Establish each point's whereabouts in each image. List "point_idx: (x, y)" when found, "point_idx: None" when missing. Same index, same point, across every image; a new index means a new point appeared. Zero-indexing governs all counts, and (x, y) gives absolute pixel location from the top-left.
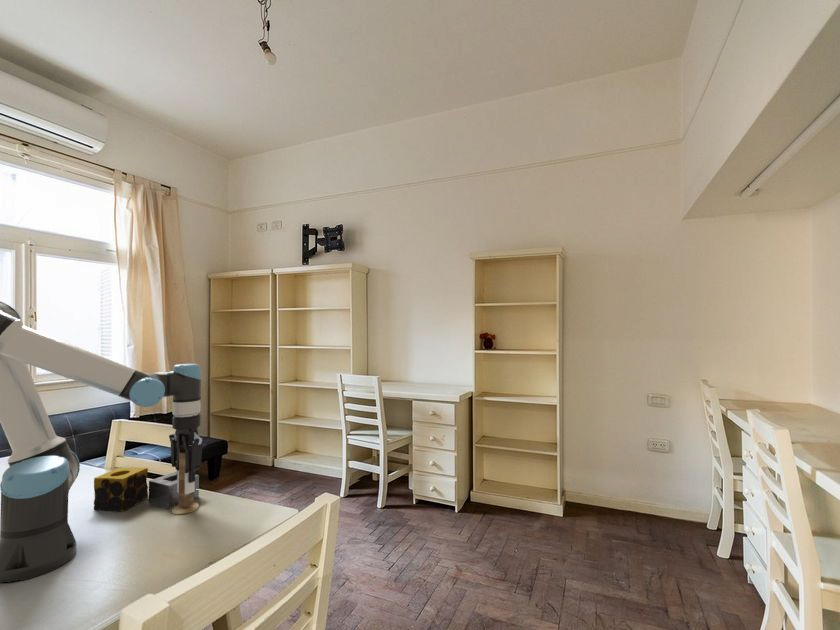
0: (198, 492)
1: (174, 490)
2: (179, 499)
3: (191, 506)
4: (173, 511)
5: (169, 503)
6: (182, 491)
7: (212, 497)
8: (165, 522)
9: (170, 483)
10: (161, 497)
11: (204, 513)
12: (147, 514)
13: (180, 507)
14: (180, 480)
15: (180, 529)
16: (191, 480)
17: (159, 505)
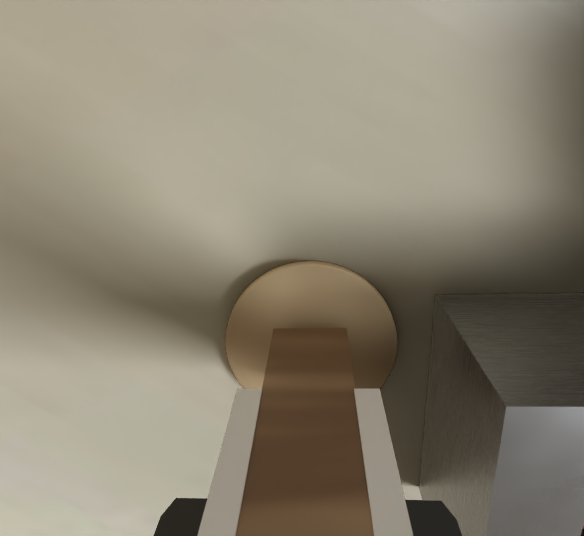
0: None
1: (472, 412)
2: (340, 354)
3: None
4: (324, 269)
5: (445, 318)
6: (297, 403)
7: None
8: (231, 148)
9: (554, 451)
10: (564, 327)
11: (134, 353)
12: (507, 166)
13: None
14: (336, 493)
15: (19, 131)
16: (158, 530)
17: (553, 295)
